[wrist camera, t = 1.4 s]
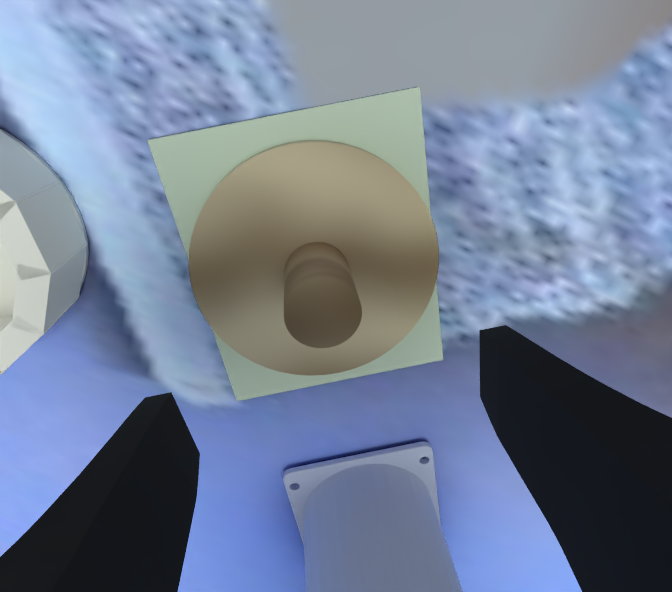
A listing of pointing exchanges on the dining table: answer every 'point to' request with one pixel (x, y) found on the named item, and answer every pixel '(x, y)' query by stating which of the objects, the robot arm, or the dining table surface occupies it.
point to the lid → (313, 258)
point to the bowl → (35, 248)
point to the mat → (306, 124)
